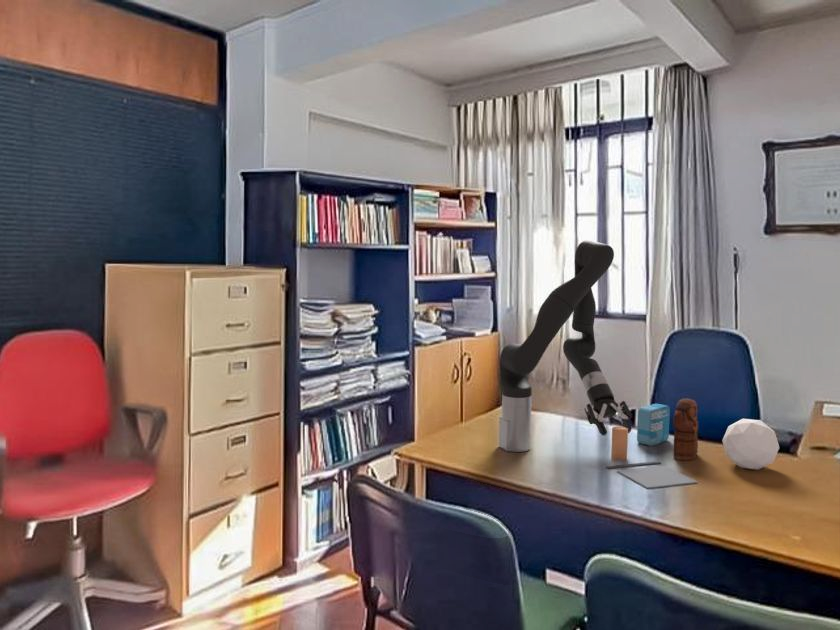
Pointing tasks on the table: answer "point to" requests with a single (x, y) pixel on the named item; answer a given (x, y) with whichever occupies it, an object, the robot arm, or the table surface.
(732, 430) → the geometric sphere
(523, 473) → the table surface
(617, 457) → the throwing cylinder
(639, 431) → the data package
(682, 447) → the wooden figurine
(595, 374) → the robot arm
